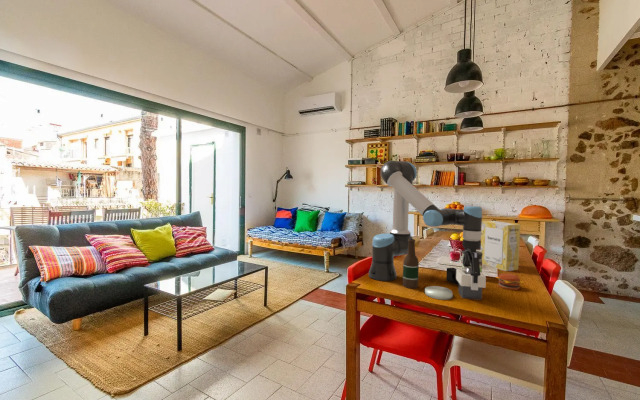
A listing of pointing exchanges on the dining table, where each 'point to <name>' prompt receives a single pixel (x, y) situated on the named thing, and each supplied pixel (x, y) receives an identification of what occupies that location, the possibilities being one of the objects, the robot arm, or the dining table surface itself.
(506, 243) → the pasta box
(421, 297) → the dining table surface
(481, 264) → the coffee can
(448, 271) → the digital camera
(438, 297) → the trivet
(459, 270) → the white square open box
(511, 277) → the hamburger
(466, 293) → the post stand
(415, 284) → the beer bottle
